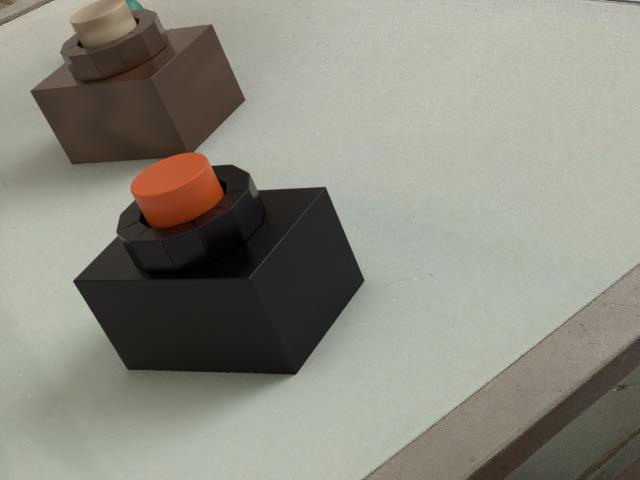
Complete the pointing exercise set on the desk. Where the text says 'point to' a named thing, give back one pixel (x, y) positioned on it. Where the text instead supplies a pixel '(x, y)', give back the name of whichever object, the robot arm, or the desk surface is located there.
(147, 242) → the front block
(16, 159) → the desk surface
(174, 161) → the front button
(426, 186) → the desk surface
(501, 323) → the desk surface
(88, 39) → the back button
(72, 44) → the back block
